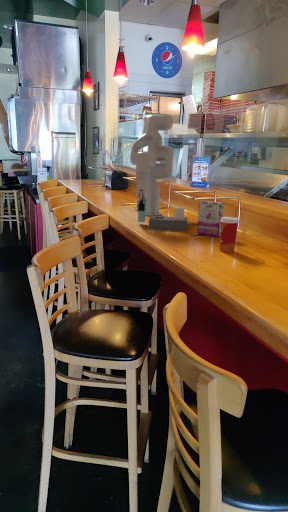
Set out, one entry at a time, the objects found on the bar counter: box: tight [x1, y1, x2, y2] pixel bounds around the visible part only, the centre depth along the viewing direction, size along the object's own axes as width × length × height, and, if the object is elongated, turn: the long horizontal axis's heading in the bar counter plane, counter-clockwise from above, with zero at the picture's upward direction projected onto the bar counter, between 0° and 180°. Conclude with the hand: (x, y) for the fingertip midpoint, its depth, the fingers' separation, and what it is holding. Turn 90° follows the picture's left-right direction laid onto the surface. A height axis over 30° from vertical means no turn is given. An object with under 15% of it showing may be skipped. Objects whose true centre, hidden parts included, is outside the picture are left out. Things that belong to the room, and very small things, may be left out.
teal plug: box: [136, 199, 147, 223], centre depth 201 cm, size 5×5×12 cm
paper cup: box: [219, 216, 240, 254], centre depth 153 cm, size 8×8×14 cm
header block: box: [148, 206, 189, 231], centre depth 195 cm, size 10×20×11 cm, turn 83°
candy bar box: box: [197, 200, 224, 238], centre depth 181 cm, size 11×5×16 cm, turn 62°
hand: (142, 209), depth 201 cm, fingers closed on teal plug, 5 cm apart
